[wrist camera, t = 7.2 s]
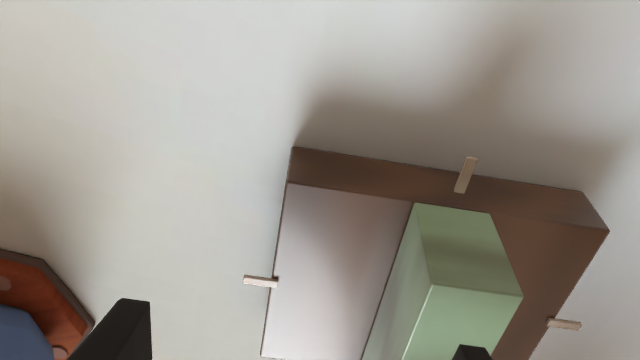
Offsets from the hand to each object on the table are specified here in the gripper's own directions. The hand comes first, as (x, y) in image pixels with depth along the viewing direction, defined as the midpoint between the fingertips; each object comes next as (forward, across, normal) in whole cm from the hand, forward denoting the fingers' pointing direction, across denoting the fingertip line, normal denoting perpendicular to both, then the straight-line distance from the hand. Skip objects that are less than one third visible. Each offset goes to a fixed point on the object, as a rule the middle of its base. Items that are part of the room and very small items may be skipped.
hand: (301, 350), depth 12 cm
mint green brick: (+7, -5, +5) cm, 10 cm away
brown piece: (+9, -5, +5) cm, 12 cm away
